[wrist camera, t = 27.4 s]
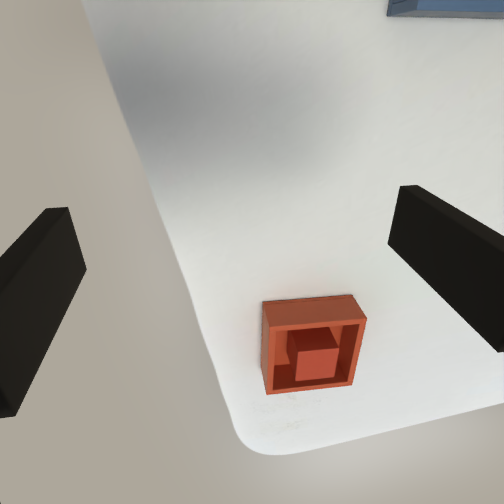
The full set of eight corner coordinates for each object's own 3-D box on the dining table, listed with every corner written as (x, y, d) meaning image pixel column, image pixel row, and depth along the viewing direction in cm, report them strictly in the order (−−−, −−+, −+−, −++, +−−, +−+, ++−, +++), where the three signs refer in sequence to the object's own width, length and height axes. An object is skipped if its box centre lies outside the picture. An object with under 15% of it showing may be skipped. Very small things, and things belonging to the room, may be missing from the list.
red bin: (262, 301, 42) (269, 327, 39) (352, 294, 44) (367, 318, 40) (260, 367, 48) (266, 395, 44) (340, 359, 50) (352, 385, 46)
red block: (288, 323, 44) (298, 352, 40) (326, 319, 45) (339, 348, 40) (286, 351, 46) (295, 381, 42) (321, 347, 47) (334, 377, 43)
